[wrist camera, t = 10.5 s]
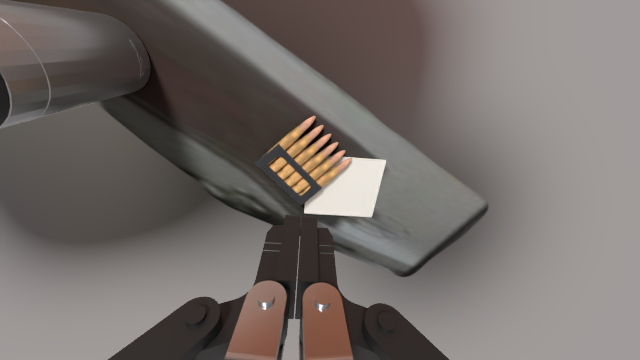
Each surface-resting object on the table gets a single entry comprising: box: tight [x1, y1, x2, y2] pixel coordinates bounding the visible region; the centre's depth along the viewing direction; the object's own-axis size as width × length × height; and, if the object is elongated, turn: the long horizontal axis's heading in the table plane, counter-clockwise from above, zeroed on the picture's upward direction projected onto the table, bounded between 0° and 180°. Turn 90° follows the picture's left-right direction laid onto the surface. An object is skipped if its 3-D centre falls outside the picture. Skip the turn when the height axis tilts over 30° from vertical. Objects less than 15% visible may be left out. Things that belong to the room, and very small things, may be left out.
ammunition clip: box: [256, 116, 352, 205], centre depth 38 cm, size 11×2×12 cm
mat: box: [304, 155, 386, 217], centre depth 42 cm, size 13×12×1 cm
